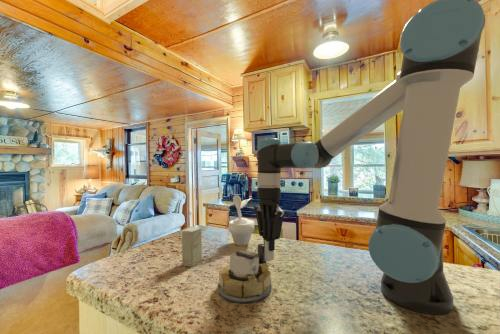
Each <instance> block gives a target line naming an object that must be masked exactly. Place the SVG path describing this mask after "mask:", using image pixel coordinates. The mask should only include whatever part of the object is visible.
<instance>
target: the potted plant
mask: <svg viewBox="0 0 500 334" xmlns="http://www.w3.org/2000/svg"><path fill="white" fill-rule="evenodd" d="M242 194H243V196H244V198H245V199H243V200H242V198H241V197H240V196H239V195H237V194H235V195H234V196H233V197H232V201H233V205H234V206H235V208H236V212H237V215H238V218H237V217H236V218H235V219H232V220H229V221H228V233H230V235H231V238H232V241H233V243H234V245H236V246H242V247H243V246H247V245H249V244H250V240H251V237H252V233H254V232H255V220H253V219H248V218H246V217H242V216H243V214H242V210H241V209H243V208H245V206H246V205H248V203H249V201H250V200H252V197H251V198H248V199H247V198H246V191H245V190H244V191H243V193H242Z"/></svg>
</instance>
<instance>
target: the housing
mask: <svg viewBox="0 0 500 334" xmlns="http://www.w3.org/2000/svg"><path fill="white" fill-rule="evenodd" d="M229 265H230V279H234V280H238V281H243V282H244V281H247V276H251V275H254V276H255V277H256V278H257V279H258V278H259V255H258V252H255V251H252V250H240V251H239V250H237V251H235V252H233V253H231V255H230V256H229ZM272 289H273V286H272V283H271V284H270V285H269V287H268V288H267V290H266V291H265V292H264V293H262V294H259V295H255V296H250V297H245V298H244V297H242V298H241V297H237V296H233V295H229V294H225V293H224V292H223V291H222V289H221V287H220V284H219V283H218V284H217V293H218V295H219V297H220V298H221V299H223V300H225V301H227V302H229V303H232V304H238V305H247V304H249V305H250V304H255V303H258V302H259V303H260V302H262V301H263V300H265V299H266V298H268V297H269V296H270V295H271V293H272Z"/></svg>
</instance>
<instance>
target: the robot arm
mask: <svg viewBox="0 0 500 334" xmlns="http://www.w3.org/2000/svg"><path fill="white" fill-rule="evenodd" d="M485 24H486V15H485V13H484V8H483V7H482V5H481V4H480V3H479V1H477V0H435V1H433V2H430V3H428V4H427V5H424V6H423V7H421V8H420V9H419V10H418V11H417V12H416V13H415V14H413V16H412V17H411V18H410V19H409V20H408V21H407V22H406V24H405V26H404V27H403V29H402V32H401V35H400V43H399V45H400V51H401V53H402V61H401V67H400V71H399V72H398V73H396V78H395V80H394V81H393V82H391V83H390V84H388V85H387V86H386V87H384V88H383V89H381V90H380V92H378V93H377V94H376V95H374V96H373V97H372V98H371V99H369V100H368V101H367V102H365V103H364V104H363V105H362V106H360V107H359V108H358V109H357V110H355V111H354V112H352V114H350V115H349V116H348V117H346V118H345V119H344V120H342V121H341V122H340V123H339V124H338V125H336V126H335V127H333V128H332V129H331V130H329V131H328V132H327V133H326V134H325V135H323V136H322V137H320V139H318V140H317V141H316V142H312V141H299V142H290V143H281V139H279V138H274V137H270V138H267V137H266V138H261V139H259V140H258V142H257V151H256V155H257V175H256V177H257V180H256V184H257V186H258V187H257V199H258V200H259V202H258V205H255V206H254V207H253V209H254V212H255V215H256V217H255V218H256V222H257V229H258V230H257V231H258V234H259V236H260V237H262V238H263V244H264V249H265V261H266V263H267V262H271V261H274V260H275V259H274V258H275V257H274V255H275V254H274V252H275V248H276V247H275V246H276V244H275V243H276V242H275V241H276V240H280V239H281V238H280V237H281V232H282V227H283V223H284V222H283V221H284V217H285V215H286V213H287V211H286V210H285V209H282V208H281V204H280V199H281V198H282V197H281V195H282V191H281V187H280V186H281V184H282V183H281V181H282V179H281V177H282V176H281V169H322V168H325V167H328V166H329V165H330V164H331V162H332V160H333V159H334V158H335V157H337V156H339V155H340V154H341V153H342V152H344V151H346V150H347V149H349V148H350V147H352V146H353V145H354V144H356V143H357V142H359V141H361V139H363V138H364V137H366V136H368V135H369V134H371V133H372V132H373V131H375V130H376V129H377V128H379V127H380V126H382V125H384V124H385V123H386V122H388V121H389V120H391V119H392V118H394V117H395V116H396V115H398V114H400V113H401V112H402V114H401V119H400V120H401V121H400V125H399V131H398V132H399V133H398V139H397V145H396V153H395V157H394V165H393V170H392V175H391V182H390V189H389V194H388V200H387V201H385V202H384V203H382V204H381V205H379V208H378V212H377V219H376V225H375V229H374V230H373V231H372V233H371V234H370V237H369V240H368V245H367V246H368V252H369V255H370V258H371V260H372V261H373V262H374V264H375V266H376V267H377V268H378V269H379V270H380V271H381V272H382V276H381V280H380V290H381V293H382V294H383V295H384V296H385V297H386V298H387V299H388V300H389V301H392V302H394V304H396V305H398V306H401V307H403V308H405V309H409V310H411V311H414V312H418V313H422V314H429V315H446V314H450V313H451V312H452V311H453V310H454V305H455V304H454V295H453V294H452V291H451V288H450V286H449V283H448V281H447V278H446V275H445V272H444V234H445V230H446V229H445V228H446V224H447V219H446V218H445V217H444V216H443V214H442V213H441V211H439V205H440V200H441V195H442V189H443V183H444V178H445V174H446V169H447V168H446V167H447V162H448V157H449V153H450V152H449V151H450V147H451V146H450V145H451V141H452V135H453V131H454V130H453V129H454V126H455V125H454V123H455V119H456V113H457V109H458V108H457V107H458V104H459V103H458V102H459V96H460V92H461V88H462V87H463V86H464V85H466V84H468V82H470V81H471V80H472V79H473V78H474V75H475V71H476V65H477V60H478V55H479V54H478V53H479V51H480V43H481V38H482V33H483V30H484V28H485Z"/></svg>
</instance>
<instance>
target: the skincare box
mask: <svg viewBox="0 0 500 334" xmlns="http://www.w3.org/2000/svg"><path fill="white" fill-rule="evenodd" d="M181 244H182V245H181V246H182V247H181V250H182V251H181V253H182V255H181V256H182V257H181V258H182V259H181V260H182V261H181V262H182V263H181V265H182V266H184V267H190V268H192V267H194V266H196V265H198V264H199V263H200V262H202V260H203V259H202V258H203V257H202V251H203V249H202V245H203V243H202V227H197V226H196V227H195V226H191V227H189V228H186V229H184V230H182V231H181Z"/></svg>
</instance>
